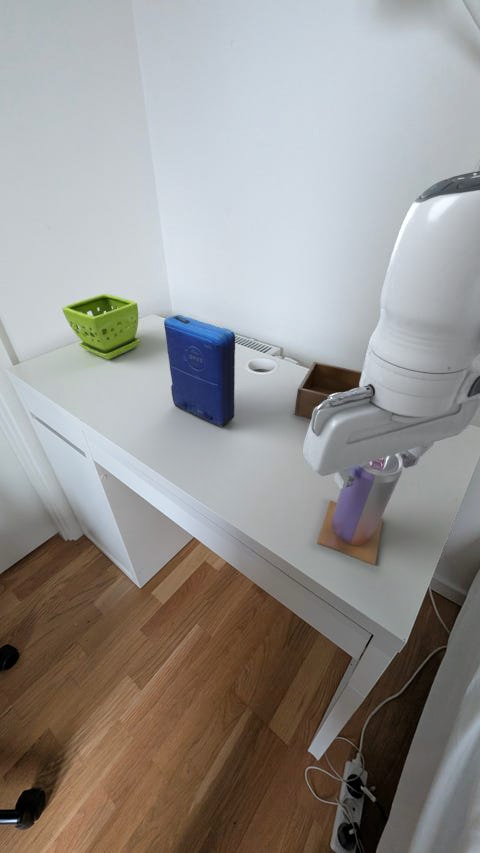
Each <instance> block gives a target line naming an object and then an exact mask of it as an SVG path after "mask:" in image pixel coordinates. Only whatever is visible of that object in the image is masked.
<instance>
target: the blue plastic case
mask: <svg viewBox="0 0 480 853" xmlns="http://www.w3.org/2000/svg"><path fill="white" fill-rule="evenodd" d="M163 328H164V331H165V332H164V333H165V341H166V350H167V355H168V356H167V358H168V363H169V371H170V377H171V378H170V379H171V386H170V389H171V397H172V402H173V405H174V406H175V407H177V408H178V409H179V410H183V411H185V412H186V413H189V414H191V415H193V416H195V417H197V418H199V419H201V420H204V421H206V422H208V423H210V424H212V425H217V426H219V427H222V428H223V427H224V426H226V425H227V424H228V423H229V422H230V421H232V420H233V419H234V417H235V384H236V383H235V378H236V373H235V372H236V368H235V366H236V365H235V364H236V358H235V356H236V334H235V332H234V331H233V330H231V329H229V328H225V327H220V326H216V325H213V324H210V323H205V322H203V321H200V320H198V319H193V318H191V317H187V316H185V315H182V314H176V315H172V316H170V317H169V316H168V317H167V318H165V319H164V321H163Z"/></svg>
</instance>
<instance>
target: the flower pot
mask: <svg viewBox="0 0 480 853" xmlns="http://www.w3.org/2000/svg"><path fill="white" fill-rule="evenodd" d="M138 306H139V305H138V303H137V302H136V301H133V300H130V299H126V298H123V297H120V296H115V295H112V294H108V293H102V294H98V295H96V296H92V297H88V298H86V299H82V300H80V301H79V300H78V301H76V302H72V303H70V304H68V305H64V306H62V307H61V309H62V312H63V314H64V317H65V319H66V321H67V323H68V324H69V326H70V328H71V330H72V331H73V332H74V334H75V335H76V336H77V337H78V339H79V340H81V341H82V342H80V343H79V344H78V345H79V347H81V348H82V349H84V350H86V351H88V352H90V353H92V354H93V355H96V356H99V357H101V358H103V359H106V360H111V359H113V358H115V357H117V356H120V355H122V354H123V353H126V352H128V351H130V350H132V349H135V348H137V347H138V346H139V344H140V343H141V339H140V338H138V337H136V335H137V332H138V326H139V307H138ZM88 312H91V314H92V315H91V314H88Z"/></svg>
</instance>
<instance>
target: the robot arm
mask: <svg viewBox="0 0 480 853" xmlns="http://www.w3.org/2000/svg"><path fill="white" fill-rule="evenodd" d="M379 298H380V302H379V303H380V304H379V305H380V313H379V314H380V315H379V320H378V323H377V325H376V327H375V329H374V330H373V332H372V334H371V335H370V338H369V343H368V346H367V350H366V354H365V358H364V362H363V366H362V370H361V372H362V374H361V378H360V382H359V386H360V387H359V388H355V389H352V390H350V391H347V392H338V393H334V394H331V395H329V396H328V398H327V400H325V401H324V402H322V403H321V404H320V405H319V406H317V407H316V408H315V409H314V411H313V414H312V419H310V421H309V422H310V423H309V425H308V428H307V431H306V434H305V438H304V442H303V445H302V455H303V458H304V459H305V461H306V462H307V464H308V465H309V466H310V468H311V469H312V470H313V471H314V472H315V473H316V474H318V475H319V476H321V477H325V476H328V475H329V476H330V475H333V474H334V477H333V480H334V483H335V484H336V485H337V487H338V488H339V489H340V490H341V489H344V488H347V487H350V486H352V485H353V482H354V479H355V477H354V476H353V474H352V473H350V470H351V468H352V467H355V466H359V465H362V464H365V463H368V462H371V461H375V460H378V459H381V458H384V457H388V456H391V455H394V454H397V453H399V454H400V456H401V457H402V460H403V467H402V468H404V469H408V468H412V467H414V466H417V465H418V463H419V460H420V458H421V457H422V456H424V454H426V453H427V451H429V450H430V449H431V448H432V447H433V446H434V444H435V443H436V442H439V441H442V440H446V439H449V438H453V437H455V436H458V435H460V434H461V433H463V432H464V431H465V430H466V429H467V428H468V427H469V426H470V425H471V423H472V422H473V420H474V419H475V417H476V416H477V414H478V412H479V410H480V360H478V359H476V357H477V356H478V355H479V354H480V170H478V171H473V172H468V173H463V174H458V175H455V176H450V177H449V178H446V179H442V180H440V181H438V182H436V183H434V184H433V185H431V186H429V188H426V189H425V190H424V191H423V192H422V193H421V194H420V195H419V196H418V197H417V198H416V199H415V200H414V202H413V203H412V204H411V206H410V207H409V209H408V211H407V214H406V215H405V218H404V220H403V222H402V225H401V227H400V229H399V232H398V235H397V237H396V240H395V243H394V246H393V249H392V253H391V256H390V260H389V263H388V265H387V270H386V273H385V278H384V280H383V284H382V289H381V293H380V297H379Z"/></svg>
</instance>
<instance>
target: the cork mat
mask: <svg viewBox="0 0 480 853" xmlns="http://www.w3.org/2000/svg"><path fill="white" fill-rule="evenodd" d="M336 504H337V501H332V500H330V501H329V504H328V507H327V510H326V512H325V516H324V520H323V523H322V526H321V529H320V533H319V536H318V537H317V538H318V540H317V543H316V544H317V545H320V546H323V547H326V548H329V549H331V550H333V551H336V552H338V553H341V554H344V555H347V556H349V557H352V558H355V559H357V560H359V561H362V562H365V563H367V564H370V565H373V566H376V564H377V563H376V562H377V557H378V550H379V544H380V538H381V532H382V525H383V517H381V520H380V522H379V524H378V526H377V529H376V531H375V533H374V535H373V537H372V539H371V540H370V541H369V542H368V543H366V544H363V545H350V544H347V543H345V542H343V541H342V540H341V539H339V538H338V537H337V535H336V534H335V532H334V531H333V528H332V518H333V514H334V511H335V508H336Z"/></svg>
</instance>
